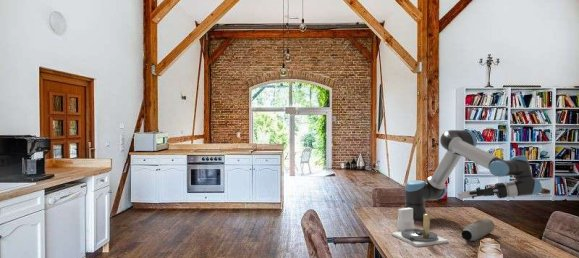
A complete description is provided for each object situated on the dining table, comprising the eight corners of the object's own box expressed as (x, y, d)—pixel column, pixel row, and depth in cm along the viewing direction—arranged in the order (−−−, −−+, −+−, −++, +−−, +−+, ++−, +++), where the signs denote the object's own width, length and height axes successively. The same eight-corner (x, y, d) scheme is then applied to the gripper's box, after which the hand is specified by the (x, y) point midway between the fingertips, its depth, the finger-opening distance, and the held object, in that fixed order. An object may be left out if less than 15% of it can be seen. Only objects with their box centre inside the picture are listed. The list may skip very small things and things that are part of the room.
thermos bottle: (476, 220, 210) (455, 229, 191) (490, 216, 205) (469, 225, 186) (483, 234, 207) (462, 245, 189) (497, 230, 202) (477, 241, 183)
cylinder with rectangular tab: (405, 232, 204) (405, 211, 204) (393, 228, 212) (394, 207, 212) (417, 230, 208) (417, 209, 208) (405, 226, 216) (405, 206, 216)
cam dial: (395, 231, 201) (395, 207, 201) (426, 230, 204) (426, 206, 204) (411, 242, 183) (412, 215, 183) (444, 240, 186) (445, 214, 186)
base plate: (391, 235, 199) (391, 229, 199) (421, 231, 207) (421, 225, 207) (416, 246, 181) (416, 240, 181) (448, 242, 188) (448, 236, 188)
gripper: (514, 195, 173) (465, 201, 178) (501, 198, 196) (458, 203, 201) (509, 179, 175) (462, 185, 180) (497, 184, 198) (455, 190, 203)
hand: (460, 195), depth 190 cm, fingers open, 13 cm apart
